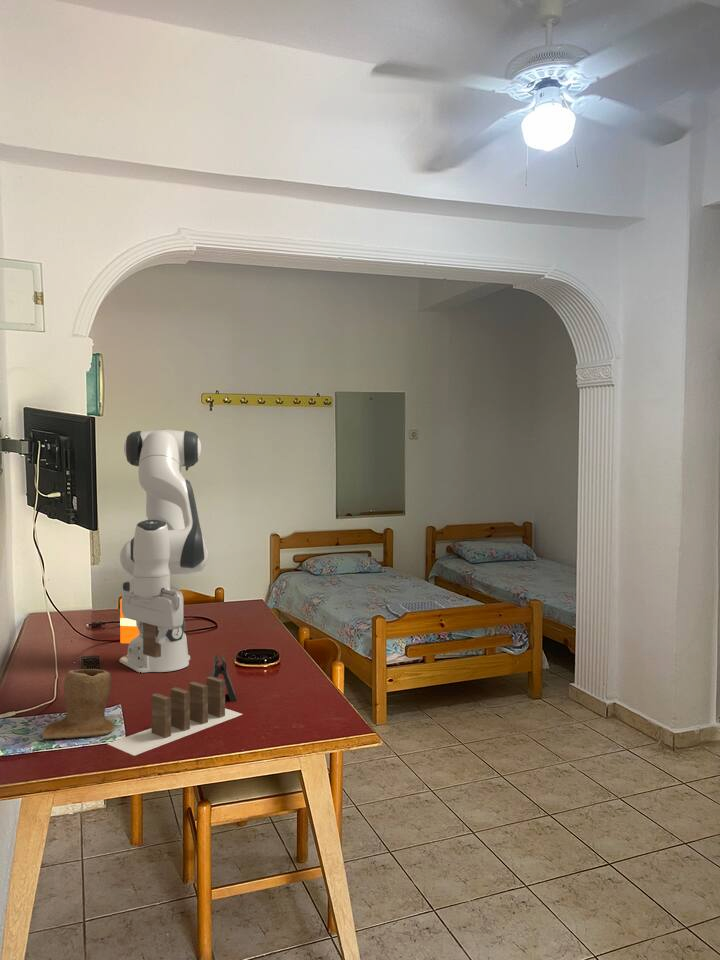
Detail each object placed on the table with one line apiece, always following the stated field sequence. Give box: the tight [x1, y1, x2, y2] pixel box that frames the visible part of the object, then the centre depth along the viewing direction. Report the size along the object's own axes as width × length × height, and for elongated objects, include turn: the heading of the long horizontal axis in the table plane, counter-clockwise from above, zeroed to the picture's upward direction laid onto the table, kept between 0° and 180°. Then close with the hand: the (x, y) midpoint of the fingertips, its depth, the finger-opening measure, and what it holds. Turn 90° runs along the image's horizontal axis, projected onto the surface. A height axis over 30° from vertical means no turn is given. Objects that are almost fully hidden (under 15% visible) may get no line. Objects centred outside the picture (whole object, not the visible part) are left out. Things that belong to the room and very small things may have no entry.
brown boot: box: [42, 668, 115, 740], centre depth 178 cm, size 15×12×15 cm
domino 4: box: [188, 681, 208, 724], centre depth 184 cm, size 2×5×9 cm, turn 52°
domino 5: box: [206, 676, 226, 718], centre depth 189 cm, size 2×5×9 cm, turn 52°
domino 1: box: [143, 623, 161, 658], centre depth 190 cm, size 2×5×9 cm, turn 52°
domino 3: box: [170, 687, 190, 731], centre depth 180 cm, size 2×5×9 cm, turn 52°
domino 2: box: [151, 692, 171, 738], centre depth 176 cm, size 2×5×9 cm, turn 52°
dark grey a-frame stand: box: [209, 654, 238, 703], centre depth 200 cm, size 9×6×12 cm, turn 104°
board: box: [107, 707, 243, 757], centre depth 180 cm, size 10×32×1 cm, turn 142°
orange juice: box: [119, 599, 139, 644], centre depth 260 cm, size 8×9×20 cm
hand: (152, 640), depth 190 cm, fingers closed on domino 1, 5 cm apart
